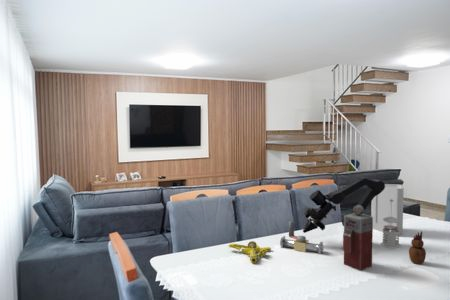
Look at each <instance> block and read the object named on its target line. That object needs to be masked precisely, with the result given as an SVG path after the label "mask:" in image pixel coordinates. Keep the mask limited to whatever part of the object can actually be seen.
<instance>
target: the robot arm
mask: <svg viewBox="0 0 450 300" xmlns="http://www.w3.org/2000/svg"><path fill="white" fill-rule="evenodd" d="M385 184H386V183H385V182H384V181H382V180H379V179H368V178H366V177H359V178H358V179H356V180H354V181H353V182H351V183H349V184H347V185H346V186H344V187H343V188H341V189H336V190H333V191H330V192H329V193H328V194H323V192H321V190H319V189H317V190H315V191H313V192H312V193H311V194H310V195H309V200H310V201H312V203H314V204H315V206H319V207H318V208H316V207H315V208H313V207H308V206H306V205H305V207H304V209H303V216H304V217H305V219H306V224H305V225H304V228H303V230H302V233H305V234H306V233H308V232H310V231H313V230H316V229H320V230H321V231H324V230H325V229H326V225H325V224H324V223H323V222H322V221H324V219H327V218H328V217H327V215H328V214H329V213H330V212H331V211H332V210H333V211H334V212H336V211H337V206H336V205H339V204H341V203H342V202H343V201H345V199H346V197H348V196H350V195H351V194H353V193H354V192H356V191H358V190H359V189H362V188H363V187H364V186H366V192H365V193H364V195H363V196H362V197H361V199H360V200H359V202H358V203H357V204H356V206H357V205H361V206H362V207H363V208H364V212H365V211H366V210H367V208H368V207H369V205H370V204H371V203H372V200H373V198H374V197H375V196H377V195H378V194H380V193H381V192H382V191H383V190H384V189H385ZM352 213H354V211H353V210H352V212H349V213H348V212H347V213H345V215H348V214H352ZM345 215H344V216H345ZM344 216H343V217H342V220H341V225H342V226H343V227H344Z"/></svg>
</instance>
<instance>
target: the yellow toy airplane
mask: <svg viewBox="0 0 450 300" xmlns="http://www.w3.org/2000/svg"><path fill="white" fill-rule="evenodd" d="M228 248H232V249H235V250H238V251H241V253H244V254H245V255H247V256H249V261H250V262H251V263H252V264H256V263H257V260H259V261H260V260H261V259H260V257H263V256H265V255H267V251H271V250H272V247H270V246H267V247H260V245H258V244H257V242H256V241H254V240H252V241H251V240H250V241H249V242H247V245H243V244H237V243H230V244H228Z"/></svg>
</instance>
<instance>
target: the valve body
mask: <svg viewBox="0 0 450 300" xmlns="http://www.w3.org/2000/svg"><path fill="white" fill-rule="evenodd" d="M279 244H280V245H279V246H280V248H284V247H285V248H290V249H293V250H294V251H297V252H304V253H306V252H307V251H308V252H314V253H318V254H319V255H321V254H323V253H324V244H323V241H320V242H319V243H312V242H309V239H306V241H305V242H299V241H297V240H296V239H287V238H286V236H284V235H283V236H282V237H281V238H280V241H279Z"/></svg>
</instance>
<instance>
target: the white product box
mask: <svg viewBox="0 0 450 300" xmlns="http://www.w3.org/2000/svg"><path fill="white" fill-rule="evenodd" d="M384 184H385V189H384V190H383V191H382V192H381V193H380V194H378V195H377V196H375V197H374V198H373V200H372V201H371V203H370V204H371V205H370V206H371V214H370V216H372V217H373V230H376V231H379V232H382V233H383V229H384V226H387V225H388V222H386V221H384V220H383V219H384V218H385V217H394V218H397V219H398V220H399V222H398V223H392V226H396V227H398V229H397V230H399V235H398V236H399V237H401V236H403V235H404V234H403V230H404V228H403V227H404V224H403V223H404V185H403V184H400V183H399V184H396V183H395V184H394V183H393V184H392V183H390V184H389V183H384ZM390 199H392V200H393V202H392V210H391V202H390ZM389 225H390V226H391V223H390V222H389ZM389 232H391V230H389Z"/></svg>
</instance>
